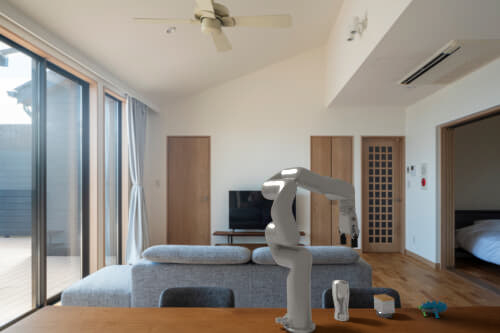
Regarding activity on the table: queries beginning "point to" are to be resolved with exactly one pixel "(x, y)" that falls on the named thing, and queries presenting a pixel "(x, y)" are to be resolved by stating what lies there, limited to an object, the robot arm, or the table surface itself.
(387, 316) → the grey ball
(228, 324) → the table surface
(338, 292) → the beer glass
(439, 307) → the blue lumpy figure
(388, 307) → the wooden tan cube
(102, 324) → the table surface
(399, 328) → the table surface
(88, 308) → the table surface
